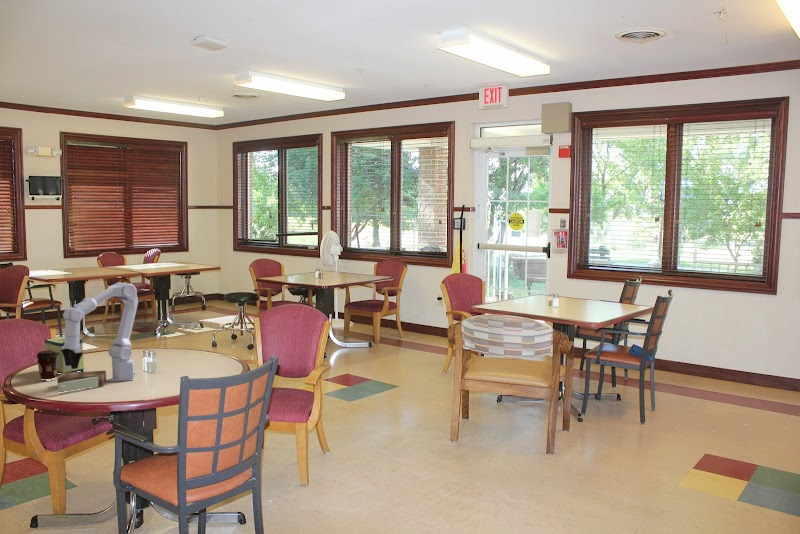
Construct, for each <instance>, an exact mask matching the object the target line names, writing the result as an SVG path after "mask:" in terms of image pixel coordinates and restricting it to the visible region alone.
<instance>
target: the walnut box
mask: <svg viewBox="0 0 800 534" xmlns="http://www.w3.org/2000/svg"><path fill="white" fill-rule="evenodd" d="M97 376H98V378H99V386H103V385H104V386H105V384H106V383H105V382H107V371H106V370H93V371H92V370H91V371H83V372H72V373H62V374H61V375H59V376H57V377H56V380H57V384H58V383H62V382H68V381H74V380H79V379H85V378H91V377H97ZM104 383H105V384H104ZM104 386H103V387H104Z"/></svg>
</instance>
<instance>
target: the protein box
mask: <svg viewBox="0 0 800 534" xmlns="http://www.w3.org/2000/svg"><path fill="white" fill-rule="evenodd" d="M64 344H65V335H64V336H59V337H53V338H48V339H46V338H45V339H44V351H48V350H50V351H55V352H56V354H57V355H58V356H57V366H56V372H57V373H61V374H62V373H72V372H77V371H83V370H84V371H85V367H84V354H83V355H82V356H81V358H80V361H79V364H78V368H77V369H72V368H71V366H66V364H65V360H64V356H63V353H62V352H61V350H62V349H65V348H62V346H64ZM83 344H84V343H83V339H81V338H80V352H83V353H84V347H83ZM84 371H83V372H84Z"/></svg>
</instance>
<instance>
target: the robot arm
mask: <svg viewBox="0 0 800 534" xmlns="http://www.w3.org/2000/svg"><path fill="white" fill-rule="evenodd" d="M137 294H138V289H137V288H136V287H135V285H134V284H133V283H127V282H126V283H125V282H120V281H118V282H116V283H114V284H111V285H110V286H109V287H108V288H107V289H105V290H103V291H102V292H101V293H99V294H97V295H95V296H94V297H84V298H83V300H82V301H80V302H79V303H77V304H76V303H75V304H73V305H72V306H73V307H72V306H71V307H67V308H65V310H64V311H63V313H62V318H63V319H64V320H65V322H64V323H65V325H64V326H65V328H64V336H65V344H64V346H62V348H65V349H62V350H61V352H62V353H63V356H64V360H65V364H66V366H71V368H72V369H77V368H78V364H79V361H80V358H81V356H82V355H83V356H84V351H83V352H80V339H81V337H80V336H81V334H80V333H81V321H82V319H83V318H84V316H86V315H88V314H89V313H91V312H93V311H94V310H96V309H97V307H98V305H100V304H101V303H103V302H105V301H107V300H108V299H110V298H114V297H118V298H119V299H120V300H121V301H122V303H123V304H124V305H123V311H122V315H121V317H120V318H121V319H120V324H119V328H118V332H117V335H116V338H115V339H114V340H113V341H112V344H111V346H110V347H108V348H109V349H108V355H109V357H111V369H112V371H111V373H112V378H111V379H110V382H122V381H134V379H135V377H136V369H135V366H136V365H135V359H132V358H131V357H132V353H133V352H132V346H133V345H132V343H131V340H130V338H131V335H132V329H133V326H134V322H135V318H136V314H137V309H138V306H139V305H138V304H139V299H138V295H137ZM130 358H131V359H130Z"/></svg>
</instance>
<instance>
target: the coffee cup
mask: <svg viewBox="0 0 800 534" xmlns="http://www.w3.org/2000/svg"><path fill="white" fill-rule="evenodd" d="M57 356H58V355H57V354H56V352H55V351H50V350H48V351H45V350H41V351H39V352H37V354H36V358H37V365H38V372H39V376H40V380H41V379H52V378H55V377H56V378H57V374H56V366H57Z"/></svg>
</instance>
